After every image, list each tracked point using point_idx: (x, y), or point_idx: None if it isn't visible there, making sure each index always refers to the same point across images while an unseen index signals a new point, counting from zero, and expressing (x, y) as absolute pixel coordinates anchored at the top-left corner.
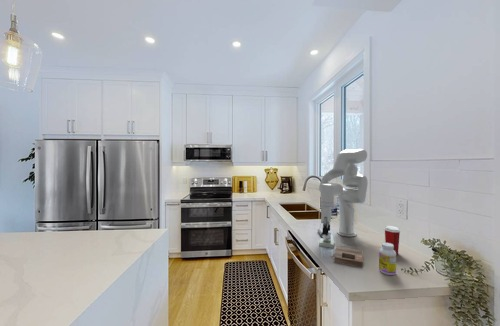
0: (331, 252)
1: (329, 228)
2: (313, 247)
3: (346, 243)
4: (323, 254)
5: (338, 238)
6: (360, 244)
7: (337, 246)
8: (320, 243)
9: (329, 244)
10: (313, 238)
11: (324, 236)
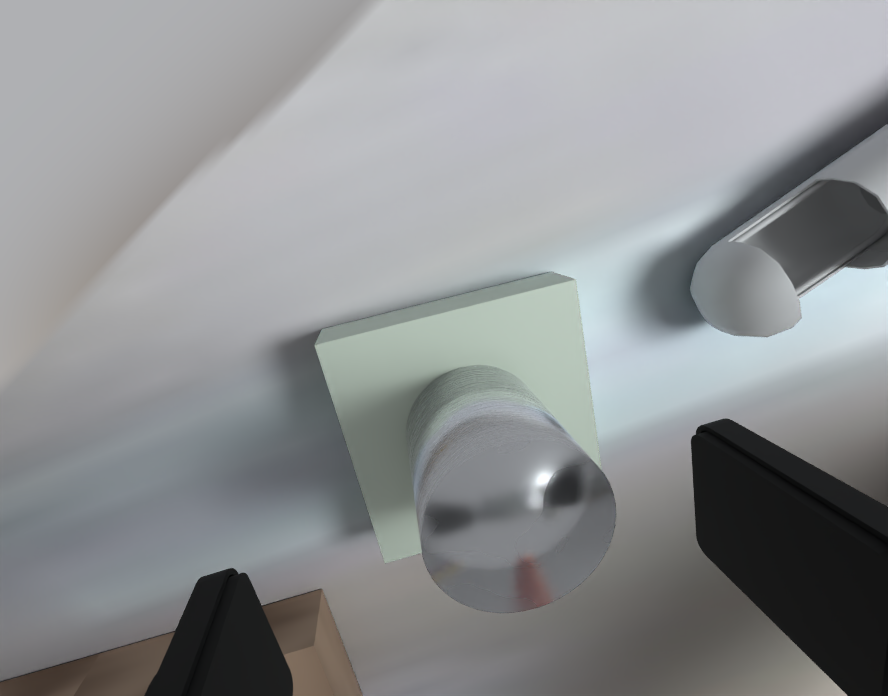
0: (197, 569)
1: (747, 591)
2: (167, 278)
3: (670, 577)
4: (17, 522)
5: (823, 434)
6: (717, 689)
7: (309, 659)
8: (323, 363)
9: (368, 507)
10: (631, 80)
11: (421, 465)
